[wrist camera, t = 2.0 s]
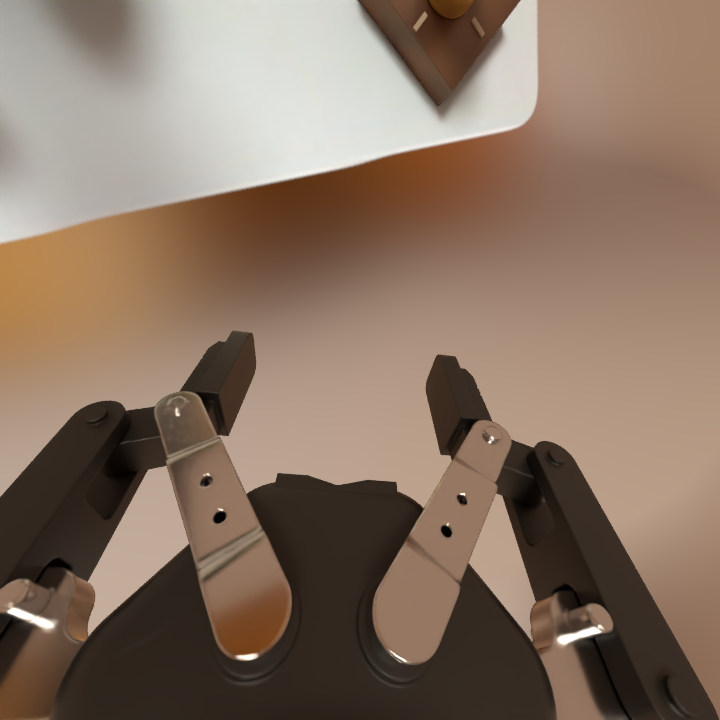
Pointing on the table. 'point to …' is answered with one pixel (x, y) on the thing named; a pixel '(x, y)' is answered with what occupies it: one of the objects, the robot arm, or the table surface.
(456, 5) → the lock knob
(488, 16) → the lock plate
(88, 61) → the table surface
